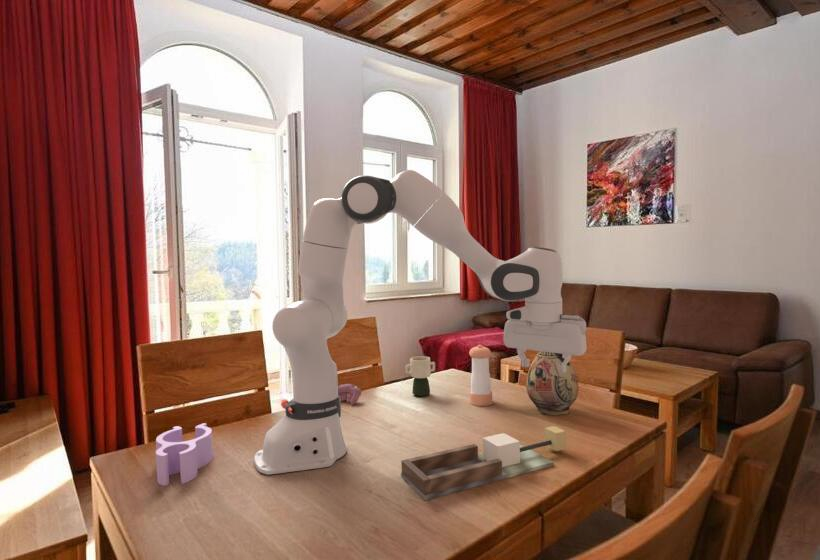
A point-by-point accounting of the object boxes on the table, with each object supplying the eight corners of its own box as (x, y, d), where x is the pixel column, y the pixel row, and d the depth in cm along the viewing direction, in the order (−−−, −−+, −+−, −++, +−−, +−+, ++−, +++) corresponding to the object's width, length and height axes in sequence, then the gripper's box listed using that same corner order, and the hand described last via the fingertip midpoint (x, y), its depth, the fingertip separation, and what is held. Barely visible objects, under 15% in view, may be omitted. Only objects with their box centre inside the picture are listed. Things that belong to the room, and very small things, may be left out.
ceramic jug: (516, 412, 150) (514, 315, 148) (542, 400, 161) (540, 309, 159) (568, 424, 138) (567, 318, 136) (592, 411, 149) (591, 313, 147)
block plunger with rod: (498, 468, 109) (497, 446, 109) (483, 458, 114) (482, 437, 114) (568, 450, 118) (568, 429, 117) (551, 441, 123) (551, 422, 123)
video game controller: (359, 407, 164) (364, 386, 167) (352, 405, 161) (357, 383, 163) (336, 403, 169) (341, 383, 172) (328, 401, 166) (334, 380, 168)
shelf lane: (425, 500, 98) (425, 481, 98) (401, 476, 109) (400, 459, 109) (553, 465, 112) (553, 449, 112) (520, 447, 123) (520, 432, 122)
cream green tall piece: (432, 390, 176) (431, 354, 175) (439, 395, 169) (438, 358, 169) (403, 394, 173) (402, 357, 172) (409, 399, 166) (408, 361, 165)
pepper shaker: (475, 407, 156) (474, 347, 155) (466, 400, 163) (465, 343, 162) (496, 404, 158) (495, 345, 157) (486, 398, 165) (485, 342, 164)
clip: (204, 481, 110) (202, 451, 110) (143, 489, 107) (141, 458, 107) (217, 447, 129) (215, 422, 129) (165, 453, 126) (164, 427, 126)
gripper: (590, 314, 116) (590, 372, 117) (511, 309, 129) (512, 361, 129) (581, 317, 111) (581, 377, 112) (500, 312, 124) (500, 366, 124)
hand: (543, 369), depth 121 cm, fingers open, 8 cm apart
